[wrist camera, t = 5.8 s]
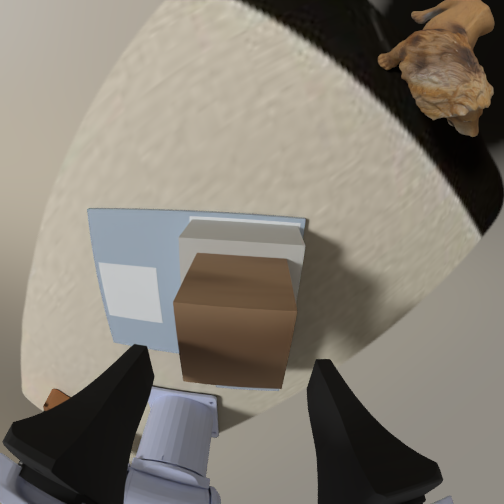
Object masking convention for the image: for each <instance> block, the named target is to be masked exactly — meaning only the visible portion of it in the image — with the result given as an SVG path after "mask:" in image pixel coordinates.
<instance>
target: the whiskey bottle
mask: <svg viewBox="0 0 504 504" xmlns="http://www.w3.org/2000/svg"><path fill="white" fill-rule="evenodd" d="M69 398H70V397H68V396H66V395H65V394H63V393H62V392H60V391H59V390H57V389H52V391H51V393H50V395H49V396H48V398H47V400H46V402H45V404H44V406H43V407H44V412H45V411H47V410H49V409H51V408H53V407H55V406H57V405H59V404H61V403H62V402H64V401H66V400H68V399H69ZM18 465H19V466H20V467H23V465H24V463H22V462H21V461H19V463H18Z"/></svg>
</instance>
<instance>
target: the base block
mask: <svg viewBox="0 0 504 504" xmlns="http://www.w3.org/2000/svg"><path fill="white" fill-rule="evenodd" d="M178 238H179V261H180V278H181V284H182V282H183V280H184V278H185V276H186V274H187V272H188V270H189V268H190V266H191V264H192V262H193V260H194V258H195V256H196V254H197V253H210V254H224V255H239V256H254V257H269V258H285V259H287V263H288V267H289V272H290V277H291V282H292V287H293V292H294V297H295V302H297V296H298V290H299V284H300V278H301V272H302V265H303V259H304V252H305V243H304V241H303V239H302V236H301V234H300V231H299V229H298V226H292V225H279V224H265V223H251V222H235V221H218V220H200V219H192V220H191V222H190V223H189V224H188V225H187V227H186V228H185V229H184V231H183V232H182V233H181V235H180V236H179V237H178Z"/></svg>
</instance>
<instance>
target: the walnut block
mask: <svg viewBox="0 0 504 504" xmlns="http://www.w3.org/2000/svg"><path fill="white" fill-rule="evenodd" d="M173 307H174V316H175V325H176V333H177V341H178V348H179V355H180V362H181V368H182V375H183V381H186V382H194V383H202V384H211V385H221V386H233V387H247V388H269V389H282V384H283V380H284V375H285V371H286V366H287V361H288V357H289V352H290V347H291V342H292V337H293V332H294V327H295V321H296V316H297V307H296V302H295V297H294V292H293V287H292V282H291V277H290V272H289V267H288V263H287V259H285V258H269V257H254V256H239V255H224V254H210V253H197V254H196V256H195V258H194V260H193V262H192V264H191V266H190V268H189V270H188V272H187V274H186V276H185V278H184V280H183V282H182V284H181V286H180V288H179V290H178V292H177V295H176V297H175V299H174V301H173Z"/></svg>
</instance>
